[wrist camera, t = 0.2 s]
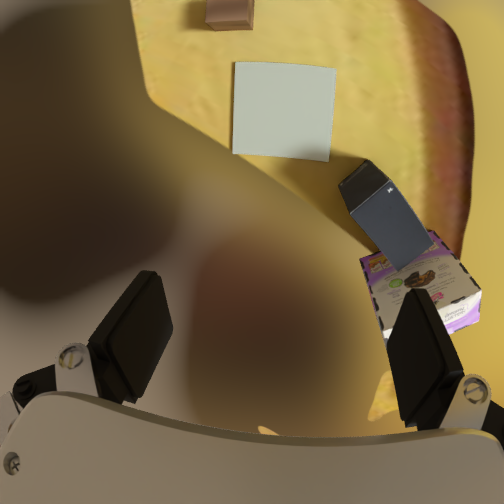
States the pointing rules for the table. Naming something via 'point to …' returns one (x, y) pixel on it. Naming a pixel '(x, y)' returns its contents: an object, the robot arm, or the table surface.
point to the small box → (384, 215)
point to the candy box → (423, 276)
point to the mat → (283, 110)
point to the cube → (230, 14)
